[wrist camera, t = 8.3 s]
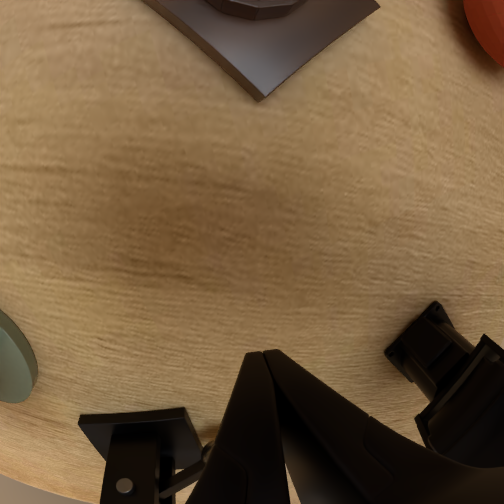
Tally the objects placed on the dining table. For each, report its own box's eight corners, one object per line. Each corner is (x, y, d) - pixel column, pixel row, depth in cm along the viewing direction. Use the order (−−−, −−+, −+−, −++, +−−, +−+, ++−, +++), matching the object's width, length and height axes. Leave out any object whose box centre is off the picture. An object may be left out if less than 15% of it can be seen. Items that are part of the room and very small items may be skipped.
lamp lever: (220, 426, 24) (243, 448, 21) (227, 446, 25) (250, 466, 22) (109, 486, 18) (125, 514, 15) (126, 502, 19) (142, 529, 16)
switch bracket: (184, 407, 23) (186, 497, 15) (207, 457, 26) (215, 532, 18) (80, 414, 22) (58, 492, 14) (115, 463, 25) (107, 531, 17)
